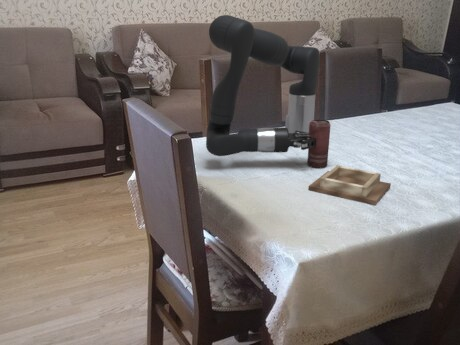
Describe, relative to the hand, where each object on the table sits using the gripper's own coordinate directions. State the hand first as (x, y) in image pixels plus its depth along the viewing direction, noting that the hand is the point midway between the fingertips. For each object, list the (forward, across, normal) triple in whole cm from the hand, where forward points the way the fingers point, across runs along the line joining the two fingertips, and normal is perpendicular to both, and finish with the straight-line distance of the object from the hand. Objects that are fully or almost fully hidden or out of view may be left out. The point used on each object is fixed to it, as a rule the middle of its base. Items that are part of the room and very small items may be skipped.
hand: (328, 139), depth 138 cm
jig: (+2, -19, +8) cm, 21 cm away
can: (-3, 0, +8) cm, 9 cm away
